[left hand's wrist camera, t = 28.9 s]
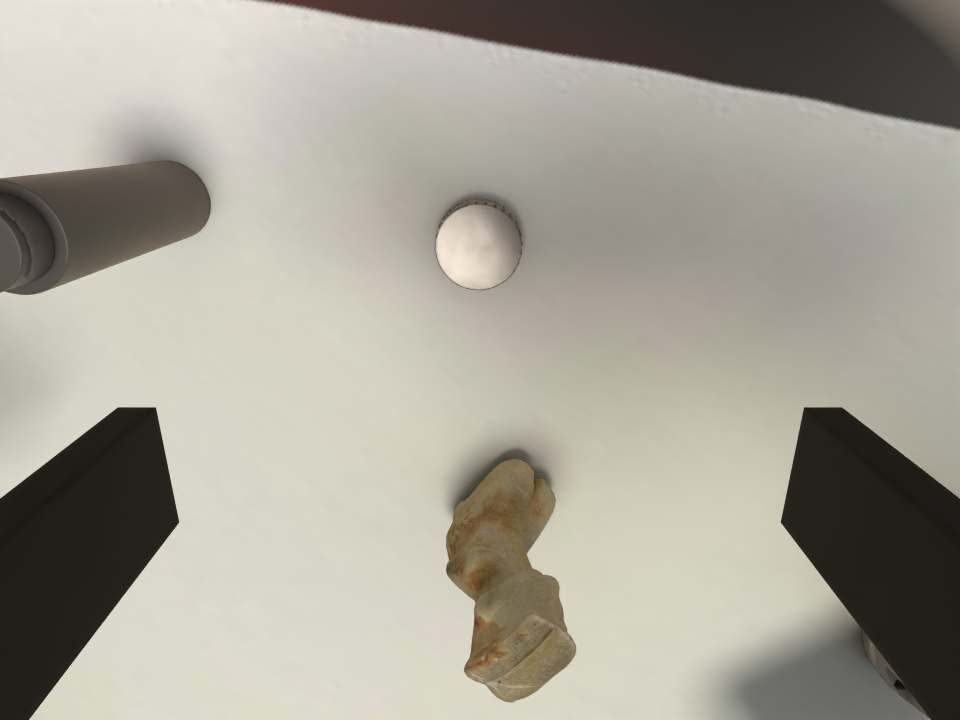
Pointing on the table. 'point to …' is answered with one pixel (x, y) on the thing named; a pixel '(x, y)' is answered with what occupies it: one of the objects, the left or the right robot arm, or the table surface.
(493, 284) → the lid
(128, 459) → the left robot arm
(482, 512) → the sculpture
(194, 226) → the gray cylindrical bottle
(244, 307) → the table surface
